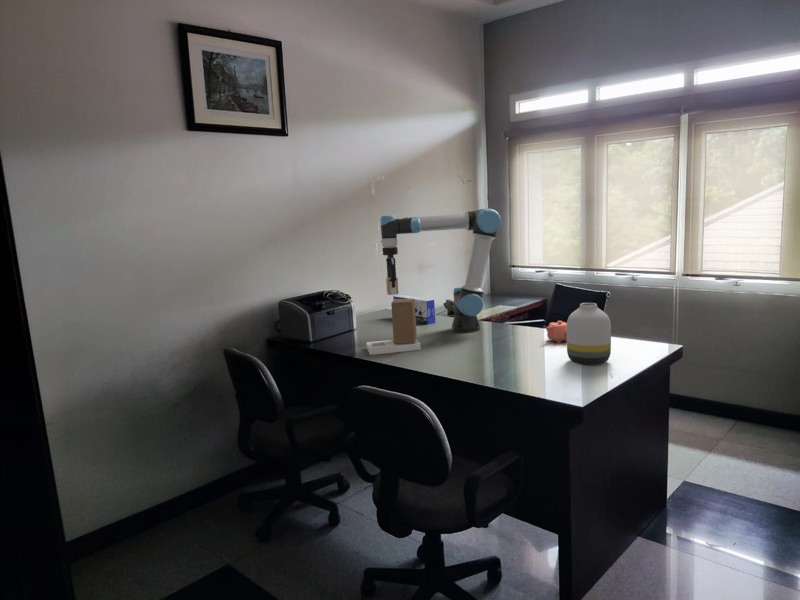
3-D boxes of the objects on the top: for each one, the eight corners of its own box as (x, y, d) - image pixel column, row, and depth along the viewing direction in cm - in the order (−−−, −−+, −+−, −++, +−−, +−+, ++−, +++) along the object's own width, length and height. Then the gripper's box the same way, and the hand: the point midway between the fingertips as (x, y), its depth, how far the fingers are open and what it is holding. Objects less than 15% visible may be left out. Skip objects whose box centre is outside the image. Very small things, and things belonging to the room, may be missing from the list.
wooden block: (414, 343, 262) (412, 301, 258) (393, 344, 263) (391, 302, 260) (416, 338, 271) (414, 298, 268) (396, 339, 273) (394, 299, 269)
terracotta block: (396, 292, 283) (395, 277, 281) (398, 294, 278) (397, 278, 277) (387, 293, 282) (386, 277, 281) (388, 294, 277) (387, 279, 276)
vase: (588, 354, 238) (588, 299, 234) (620, 363, 223) (620, 304, 219) (558, 361, 231) (557, 304, 227) (588, 370, 216) (588, 309, 212)
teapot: (571, 344, 255) (571, 324, 254) (545, 343, 261) (544, 323, 259) (575, 338, 266) (575, 319, 264) (550, 337, 271) (550, 318, 269)
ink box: (393, 319, 340) (392, 296, 337) (402, 317, 344) (401, 294, 342) (427, 325, 317) (425, 300, 314) (435, 323, 321) (434, 298, 318)
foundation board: (415, 343, 275) (414, 337, 274) (420, 349, 262) (420, 343, 262) (366, 348, 271) (366, 342, 270) (369, 354, 258) (369, 348, 258)
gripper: (379, 246, 284) (382, 291, 288) (385, 248, 267) (388, 296, 270) (394, 245, 285) (397, 290, 289) (400, 247, 268) (403, 295, 272)
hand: (392, 293), depth 280 cm, fingers closed on terracotta block, 5 cm apart
